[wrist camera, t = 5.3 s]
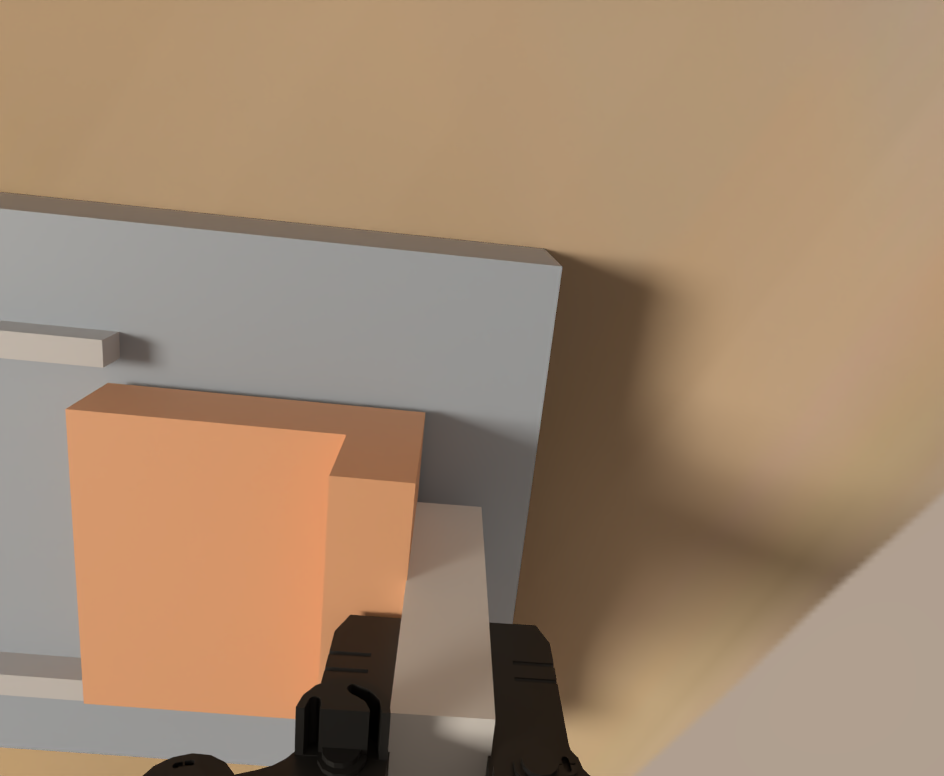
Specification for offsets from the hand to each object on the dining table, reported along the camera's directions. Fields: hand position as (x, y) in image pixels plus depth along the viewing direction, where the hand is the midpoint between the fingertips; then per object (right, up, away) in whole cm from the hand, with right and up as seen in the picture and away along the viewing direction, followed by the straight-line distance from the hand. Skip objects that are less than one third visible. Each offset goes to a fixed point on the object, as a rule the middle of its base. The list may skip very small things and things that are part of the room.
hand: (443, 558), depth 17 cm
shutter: (-4, 0, 0) cm, 4 cm away
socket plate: (-7, +2, +4) cm, 8 cm away
